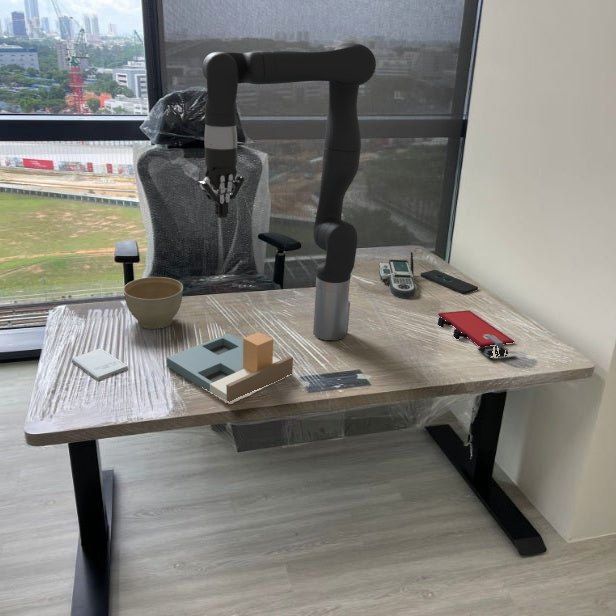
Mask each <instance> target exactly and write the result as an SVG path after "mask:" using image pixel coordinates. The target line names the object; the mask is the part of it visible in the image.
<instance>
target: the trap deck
mask: <svg viewBox="0 0 616 616" xmlns="http://www.w3.org/2000/svg"><path fill="white" fill-rule="evenodd" d="M293 364H294V357H293V356H291V355H289V356H287V357H285V358H282V359H280V358H277V357H276V356H274V355H273V364H271V365H269V366H267V367H264V368H262V369H260V370H258V371H256V372H253V373H252V372H250V371H248V370H246V369H245V368H243V339H241V338H240V337H238V336H235V335H233V334H231V333H226V334H224V335H221V336H219V337H217V338H213V339H211V340H208V341H206V342H203V343H201V344H197V345H195V346H192V347H189V348H188V349H185V350H181V351H180V352H177V353H174V354H172V355H169V356H166V366H167V368H169V369H171V370H172V369H173V370H172V371H174V372H175V373H177V374H179V375H180V376H182V377H183V378H185V379H186V380H188V381H190V382H191V383H193V384H194V385H196V386H198V387H199V386H201V387H203V388H204V389H207V390H208V391H210V392H212V393H213V394H215V395H217V396H219V397H221V398H223V399H225V400H227V401H229V402H230V401H232V400H234V399H236V398H238V397H240V396H243V395H245V394H247V393H250V392H252V391H254V390H257V389H259V388H262V387H264V386H266V385H269V384H271V383H274V382H276V381H278V380H280V379H282V378H284V377H286V376H287V375H290V374H292V375H293V371H294V370H293V366H294V365H293ZM201 387H200V388H201ZM204 389H203V390H204Z"/></svg>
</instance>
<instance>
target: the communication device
mask: <svg viewBox="0 0 616 616" xmlns="http://www.w3.org/2000/svg"><path fill="white" fill-rule="evenodd" d="M413 255H414V253H413V251H412V252H410V265H409V261H408V260H407V259H389V260H388V262H380V263H379V265H378V267H379V270H378V273H379V277H380V278H379V279H380V281H381V282H382V283H387V284H388V285H389V289H390V292H391V294H392V295H393V296H394V297H397V298H399V299H400V298H401V299H409V298H412V297H414V296H415V294H416V290H418V289H417V285H416V283H415V278H414V274H415V273H414V271H415V270H414V269H415V268H414V256H413Z"/></svg>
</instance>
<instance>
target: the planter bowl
mask: <svg viewBox="0 0 616 616" xmlns="http://www.w3.org/2000/svg"><path fill="white" fill-rule="evenodd" d="M183 291H184V285H183V283H182V282H181V281H179V280H177V279H174V278H172V277H171V278H170V277H165V276H149V277H147V276H146V277H140V278H137V279H135V280H132V281H129V282H127V284H125V285H124V286H123V295H124V298H125V304H126V306H127V308H128V310H129V312H130V313H131V315H132V317H133V318H134V319H136V321H137V323H138V325H139V326H141V328H145V329H147V330H148V329H150V330H157V329H162V328H167V327H168V326H170V325H171V324H172V323H173V321H174V318H175V317H176V315H177V314H178V312H179V309H180V307H181V305H182V301H183Z"/></svg>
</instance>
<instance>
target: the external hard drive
mask: <svg viewBox="0 0 616 616" xmlns="http://www.w3.org/2000/svg"><path fill="white" fill-rule="evenodd" d="M71 362H72V363H73V364H75V365H76V366H78V368H80V369H81V370H83V371H84V372H85V373H86V374H88V375H89V376H91V377H92V378H94V379H95V380H96V381H100V380H103V379H105V378H108V377H111V376H112V375H114V374H115V375H116V374H119V373H121V372H124V371H126V370H129V366H128V365H127V364H126V363H124V362H122V361H121V360H119V359H117V358H116V357H115V356H113V355H112V354H111V353H109V352H107V351H106V350H104V349H103V348H97V349H94V350H91V351H89V352H88V351H87V352H86V353H83V354H79V355H77V356H74V357H72V358H71Z"/></svg>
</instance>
